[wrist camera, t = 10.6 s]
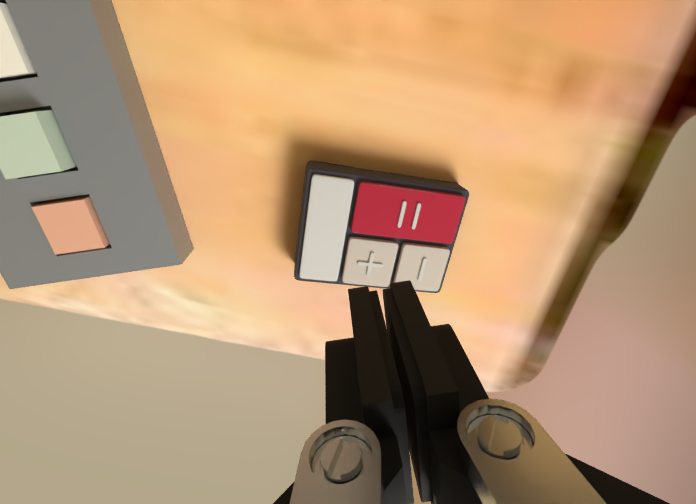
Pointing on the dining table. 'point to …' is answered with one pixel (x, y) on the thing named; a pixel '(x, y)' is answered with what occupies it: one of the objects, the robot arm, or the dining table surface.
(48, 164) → the key sage
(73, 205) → the key terracotta
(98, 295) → the dining table surface
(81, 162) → the keypad
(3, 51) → the key ivory
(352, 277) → the button control box
